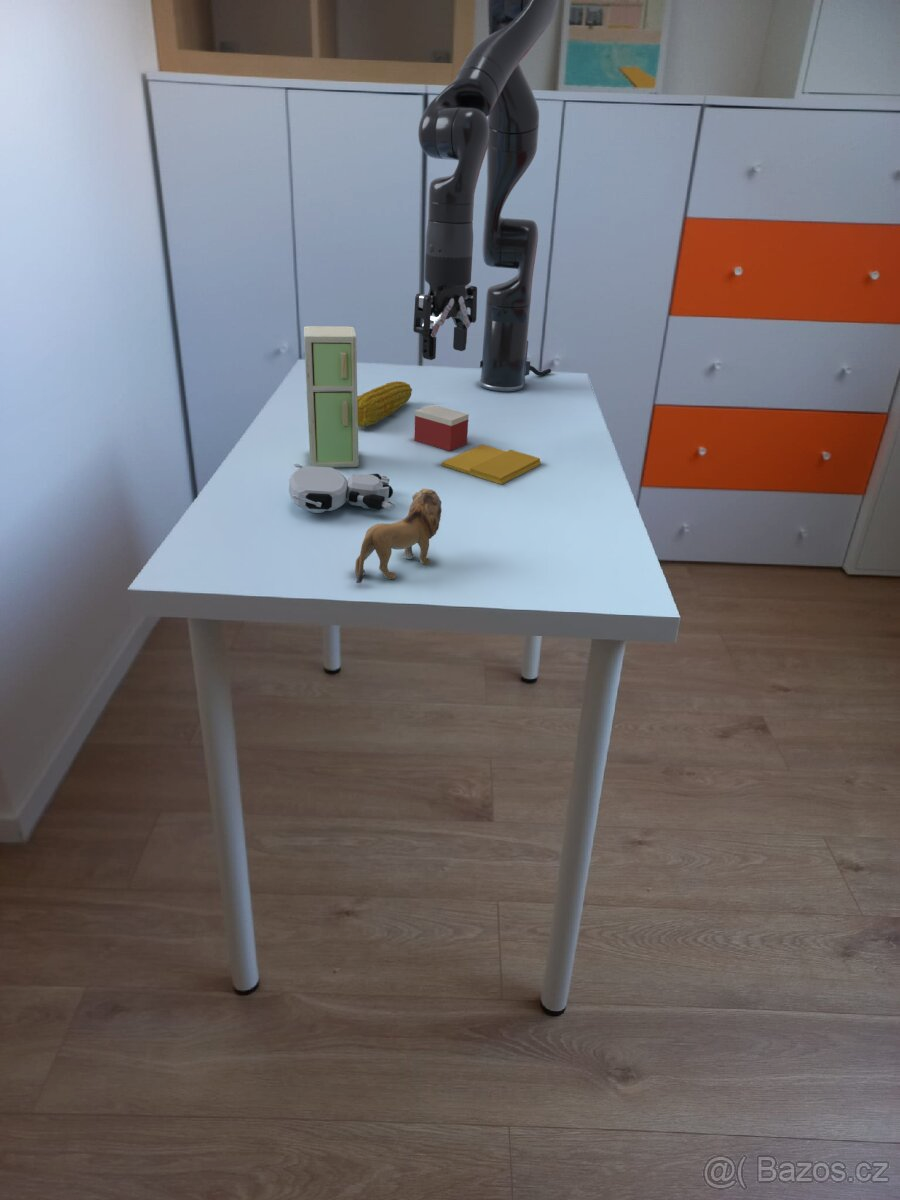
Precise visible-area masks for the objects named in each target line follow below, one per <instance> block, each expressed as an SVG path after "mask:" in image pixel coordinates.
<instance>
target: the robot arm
mask: <svg viewBox="0 0 900 1200" xmlns="http://www.w3.org/2000/svg"><path fill="white" fill-rule="evenodd" d="M559 2H560V0H486V3H487V4H486V5H487V6H486V8H487V10H486V11H487V34H488V35H487V37H485V38H483V39H482V40H481V41H480V42H479V43H478V44H477V45H475V46H474V47H473V48H472V50H471V51H470V52H469V53H468V55H467V56H466V58H465V60H464V61H463V64H462V66H461V67H460V69H459V71H458V73H457V75H456V77H455V79H454V80H453V81H452V82H451V83H450V84H448V85H447V86H446V87H445V88H444V89H442V91H441V92H439V94H437V96H436V97H434V98H433V100H431V101H430V102H429V104H428V105H427V106H426V108H425V109H424V111H423V113H422V116H421V117H420V120H419V124H418V130H417V136H418V137H417V138H418V143H419V146H420V148H421V150H422V151H423V153H424V154H425V155H426V156H428V157H430V158H433V159H438V160H449V161H458V162H457V166H456V168H455V170H454V172H453V173H452V174H451V175H447V176H441V177H436V178H434V179H433V180H432V181H430V182H429V183H430V184H429V186H428V187H429V188H428V204H427V206H428V207H427V227H426V231H425V252H424V253H425V256H424V281H425V282H426V283H427V284H428V285H429V289H428V293H427V294H424V293H423V294H422V293H416V295H415V297H414V311H413V329H412V330H413V333H416V334H419V335H421V337H422V340H421V341H422V342H421V346H422V347H421V355H422V358H423V359H424V360H429V361H433V360H435V359H436V358H437V356H436V355H437V334H438V332H439V329H440V327H441V326H443V325H444V324H445V321H446V320H449V319H450V318H451V319H452V321H453V324H454V327H453V341H452V348H453V350H454V351H459V352H464V351H466V348H467V341H468V340H467V339H468V329H469V328H470V326H471V324H472V323H473V324H475V323H476V322H477V315H478V314H477V313H478V312H477V310H478V307H477V306H478V287H477V286H475V285H471V281H472V268H473V250H474V249H473V248H474V228H473V226H474V225H473V224H474V222H473V221H474V206H475V205H474V203H475V192H476V188H477V184H478V180H479V176H480V172H481V169H482V166H483V163H484V159H485V156H486V192H485V193H486V194H485V206H484V207H485V208H484V219H483V230H482V246H481V247H482V249H481V250H482V259H483V262H484V264H485V265H486V266H487V267H490V268H496V269H509V270H517V274H516V275H515V276H514V277H512V278H511V279H509V280H507V281H505V282H501V283H498V284H494V285H492V286H490V287H488V288H487V291H486V295H485V297H486V298H485V310H484V311H485V312H484V328H483V342H482V354H481V355H482V357H481V358H482V359H481V361H480V362H479V369H481V370H480V371H481V372H480V380H479V386H480V387H482V388H484V389H486V390H489V391H495V392H505V393H506V392H517V391H520V390H522V389H523V388H524V385H525V382H526V376H527V377H528V376H529V375H530V371H531V372H532V373H533V374H534V375H536V376H538V377H539V376H540V377H541V376H546V375H548V374H551V373H552V369H551V368H547V369H544V370H541V371H540V370H538V369H537V368H536V367H534V366H532V365H531V361H530V360H528V351H529V349H528V348H529V340H528V335H529V324H530V311H531V303H532V288H533V279H534V271H535V263H536V255H537V249H538V241H539V229H538V228H539V227H538V224H537V223H536V222H535V220H532V219H524V218H523V219H522V218H510V217H509V218H508V217H502V216H501V214H502V211H503V208H504V206H505V204H506V202H507V200H508V198H509V196H510V194H511V192H512V191H513V190H514V188H515V186H516V185H517V184H518V182H519V181H520V180H521V178H523V175H524V174H525V173H526V172H527V170H528V168H529V167H530V166H531V164H532V162H533V161H534V158H535V157H536V153H537V150H538V139H539V128H540V127H539V124H540V111H539V106H538V103H537V100H536V97H535V95H534V92H533V90H532V88H531V86H530V83H529V81H528V79H527V77H526V75H525V73H524V71H523V69H522V66H521V64H520V63H521V62H522V61H523V60H524V58H525V57H526V56H527V54H529V52H530V51H531V50H532V49H533V47H534V46H535V44H536V43H537V42H538V40H539V39H540V38H541V37H542V35H543V34H544V33H546V30H547V29H548V28H549V26H550V25H551V23H552V21H553V19H554V17H555V15H556V13H557V10H558V8H559V4H560V3H559ZM468 308H469V310H470V313H469V311H468ZM422 320H423V323H422V325H421V322H422Z"/></svg>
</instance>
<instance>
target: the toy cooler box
mask: <svg viewBox="0 0 900 1200" xmlns="http://www.w3.org/2000/svg"><path fill="white" fill-rule="evenodd" d="M468 432H469V413H466V412H462V411H459V410H455V409H451V408H447V407H444V406H440V405H437V404H430V405H427V406H423V407H420V408H418V409H415V410H414V432H413V434H414V435H413V436H414V437H413V439H414V440H413V441H415V442H418V443H422V444H424V445H429V446H431V447H435V448H438V449H442V450H445V451H447V452H452V451H454V450H457V449H459V448H461V447H464V446H466V445H467V444H468Z"/></svg>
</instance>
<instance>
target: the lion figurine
mask: <svg viewBox="0 0 900 1200" xmlns="http://www.w3.org/2000/svg"><path fill="white" fill-rule="evenodd" d="M411 499H412V501H411V504H410V505H409V511H408V514H407V515H406V517H405V518H403V519H401V520H398V521H395V522H391V523H385V522H384V523H383V522H382V523H381V522H380V523H376V524H374V525H372V526H370V527H369V528H368V529H367V530H366V533H365V535H364V538H363V541H362V543H361V547H360V553H359V555H358V557H357V558H356V559H355V565H354V566H355V569H354V574H355V576H357V579H356V581H355V582H356V584H360V583H362V582H363V580H364V579H363V578H364V576H365V575H366V570H365V569H364V566H365V561H366V560H367V559H368V558H369V557H370V556H371V555H372V554H373V552H374V551H375V552H376V555H377V557H378V560H379V567H378V569H379V570H380V572H381V573H382V574H383V575H384V577H385V578H386V579H388V580H394V579H396V578H397V575H396V573H395V572H394V571H390V570H389V568H388V567H389V562H390V558H391V556H392V550H404V551H403V552H404V553H403V558H405V559H407V560H411V559H413V558H414V557H415V556H414V553H413V546H414V545H416V544H418V546H419V561H420V563H421V564H422V565H430V564H431V559H430V558H427V557H428V553H429V548H430V539H432V538H433V537H434V536H435V535H437V532H438V531H439V528H440V522H441V517H442V512H443V511H442V500H441V498H440V496H438V493H437V492H436V490H433V489H429V488H421V489H420V490H419V491H418V492H417V491H416V492H415V493H414V494H412V497H411Z"/></svg>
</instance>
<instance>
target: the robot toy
mask: <svg viewBox="0 0 900 1200" xmlns="http://www.w3.org/2000/svg"><path fill="white" fill-rule="evenodd" d="M293 466H294V467H295V468H298V469H297V470H295V471H294V472H293V473H292V474H291V476H290V478H289V480H288V494H289V496H290V499H291V500H292V502H293V503H294V504H296V505H297V506H298V507H299V508H301V509H304V510H307V511H309V512H310V513H313V514H322V513H324V512H326V511H327V512H332V511H334V510H338V509H339V508H341V507H342V506H343V505H345V503H346V502H348V503H349V505H351V506H355V507H362V508H363V509H366V510H372V509H373V510H377V511H382V510H383V509H385V510H392V509H393V508H394V507H395V502H394V501H392V500H391V498H392V496H393V494H394V489H393V488H392V486H391V485H389V484H390V478H389V477H388V476H387V475H380V473H370V474H351V475H350V476H349V477H346V476H344V474H343V473H342V472H341V471H340V470H338V469H336V468H335V467H334V468H331V467H317V466H311V465H305V466H303V465H301V464H299V463H294V464H293ZM389 499H390V500H389Z"/></svg>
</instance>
